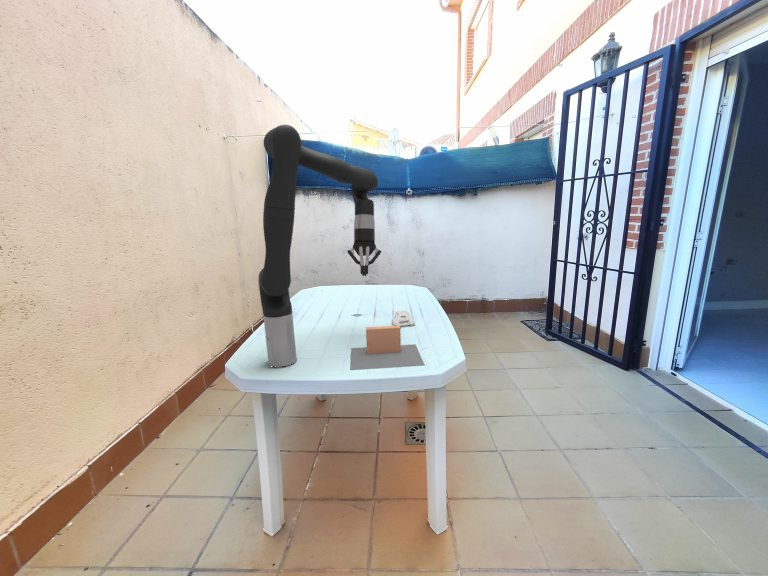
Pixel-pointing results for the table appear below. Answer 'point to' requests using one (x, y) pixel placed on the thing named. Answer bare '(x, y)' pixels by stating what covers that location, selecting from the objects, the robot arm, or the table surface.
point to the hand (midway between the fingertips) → (364, 275)
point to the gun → (403, 319)
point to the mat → (385, 358)
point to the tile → (383, 339)
